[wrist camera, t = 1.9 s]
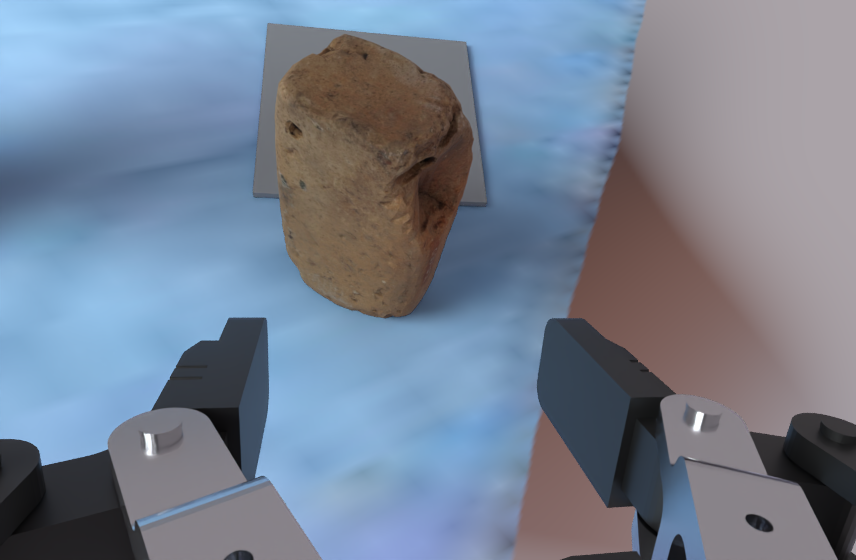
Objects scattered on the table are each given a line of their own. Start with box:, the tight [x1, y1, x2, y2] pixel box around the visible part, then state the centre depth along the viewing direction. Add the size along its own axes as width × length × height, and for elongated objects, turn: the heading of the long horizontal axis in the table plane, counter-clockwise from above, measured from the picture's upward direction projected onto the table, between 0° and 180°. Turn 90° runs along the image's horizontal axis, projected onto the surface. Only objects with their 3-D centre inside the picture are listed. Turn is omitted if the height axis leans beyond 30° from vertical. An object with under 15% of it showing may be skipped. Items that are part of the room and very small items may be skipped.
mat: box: [253, 23, 487, 206], centre depth 52 cm, size 20×20×1 cm
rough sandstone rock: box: [275, 34, 474, 318], centre depth 36 cm, size 11×8×20 cm
